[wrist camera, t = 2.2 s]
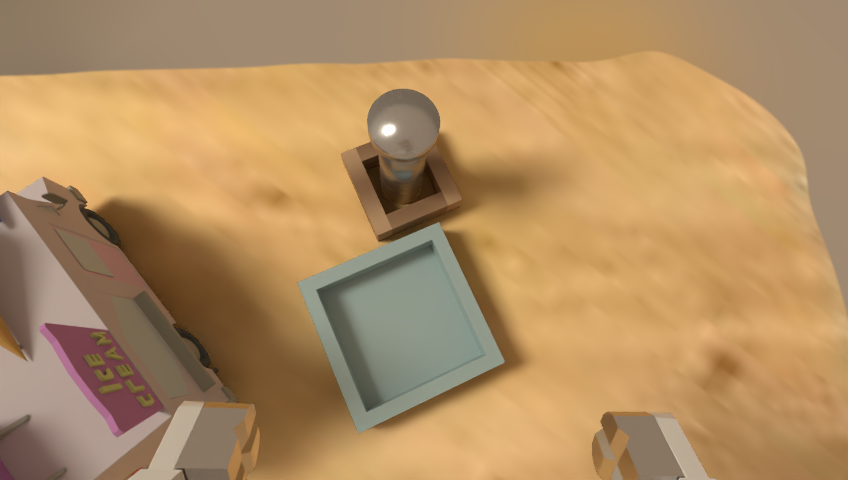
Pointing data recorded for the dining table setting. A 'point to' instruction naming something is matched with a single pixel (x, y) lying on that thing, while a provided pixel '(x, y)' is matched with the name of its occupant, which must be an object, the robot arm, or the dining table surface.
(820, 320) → the dining table surface
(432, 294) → the tray
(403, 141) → the pin
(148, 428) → the toy vehicle
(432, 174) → the collar
